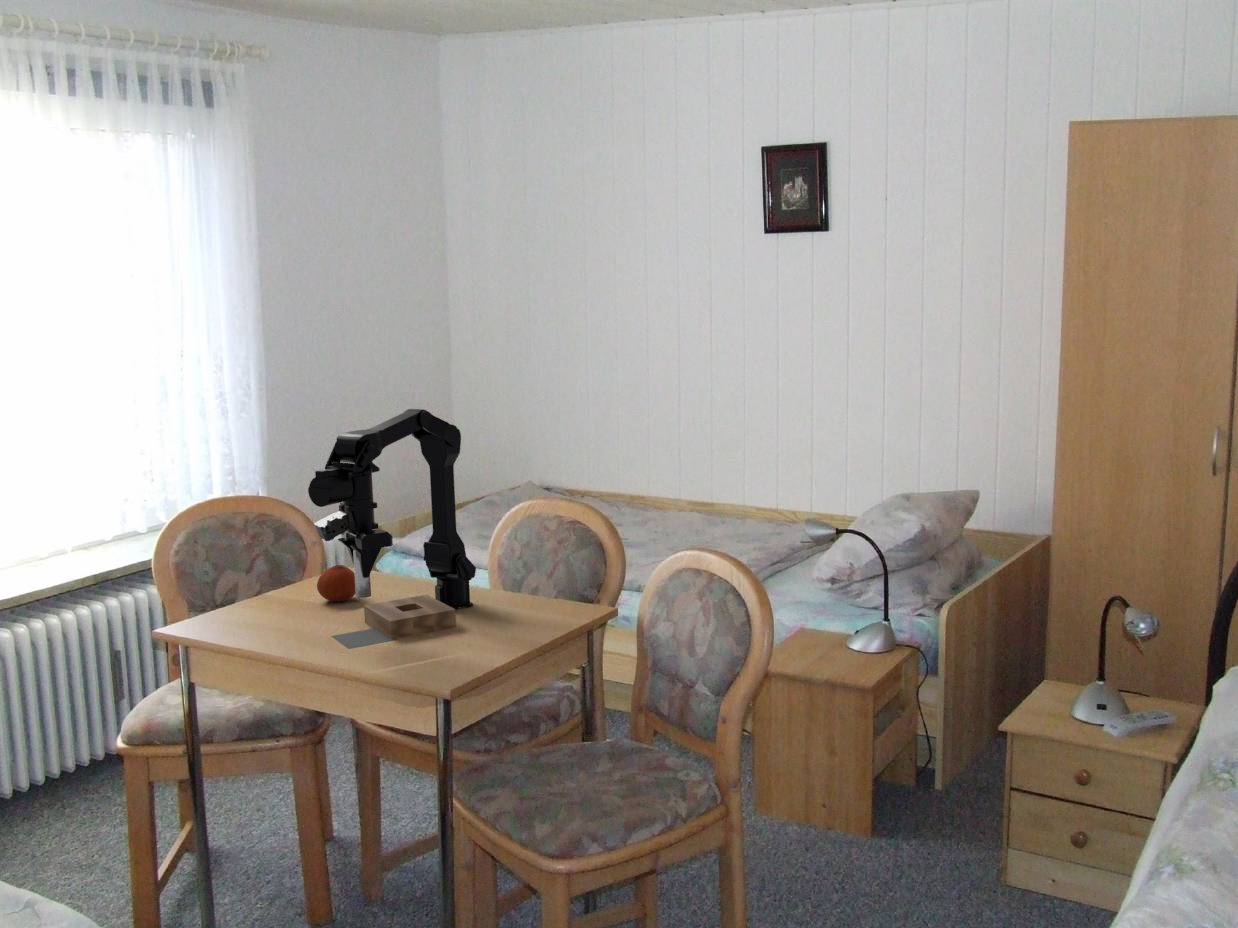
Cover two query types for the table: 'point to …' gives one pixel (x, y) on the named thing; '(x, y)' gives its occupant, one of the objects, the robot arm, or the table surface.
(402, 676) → the table surface
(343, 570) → the fruit
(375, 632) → the panel
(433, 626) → the hole block
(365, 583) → the peg
